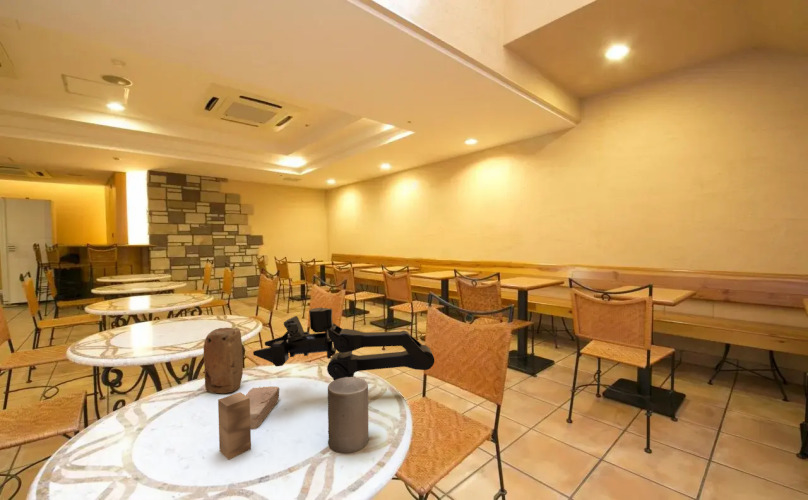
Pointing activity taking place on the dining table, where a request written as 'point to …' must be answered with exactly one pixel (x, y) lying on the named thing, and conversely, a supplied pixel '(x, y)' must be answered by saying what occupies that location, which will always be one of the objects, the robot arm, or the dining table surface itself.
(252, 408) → the brick
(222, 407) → the walnut block
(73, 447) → the dining table surface
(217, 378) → the block
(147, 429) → the dining table surface
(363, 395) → the pillar candle
